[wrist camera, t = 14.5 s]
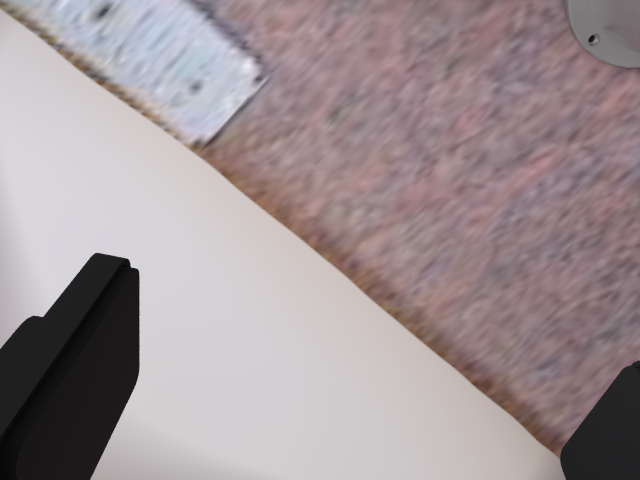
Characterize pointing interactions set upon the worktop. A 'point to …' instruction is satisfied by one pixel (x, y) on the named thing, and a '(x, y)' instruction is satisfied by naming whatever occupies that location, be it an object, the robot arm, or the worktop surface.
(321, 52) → the worktop surface
